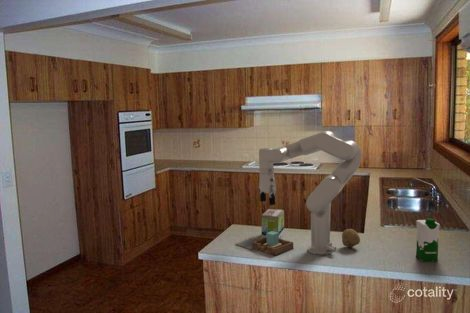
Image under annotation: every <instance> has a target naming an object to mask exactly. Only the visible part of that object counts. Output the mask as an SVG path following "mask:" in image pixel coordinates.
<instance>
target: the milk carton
mask: <svg viewBox="0 0 470 313" xmlns="http://www.w3.org/2000/svg"><path fill="white" fill-rule="evenodd" d="M415 222H416V254H415V257H417V258H418V259H419V260H421V262H438V261H439V234H440V233H439V232H440V226H441V224H440V223H438V222H437V221H436V219H435V218H433V217H426V218H425V219H417V220H416V221H415Z"/></svg>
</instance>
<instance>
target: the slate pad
mask: <svg viewBox="0 0 470 313" xmlns="http://www.w3.org/2000/svg"><path fill="white" fill-rule="evenodd" d="M257 240H258V239H254V238H248V239H245V240H243V241H240V242H237V243H235V246H238V247H241V248H245V249H247V250H250V251H253V250H255V249H254V248H253V246H252V242H254V241H257Z"/></svg>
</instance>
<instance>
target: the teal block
mask: <svg viewBox="0 0 470 313" xmlns="http://www.w3.org/2000/svg"><path fill="white" fill-rule="evenodd" d="M266 234H267V244H268V245H271V246H275V245H277V244H279V233H277V232H274V231H271V232H268V233H266Z"/></svg>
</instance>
